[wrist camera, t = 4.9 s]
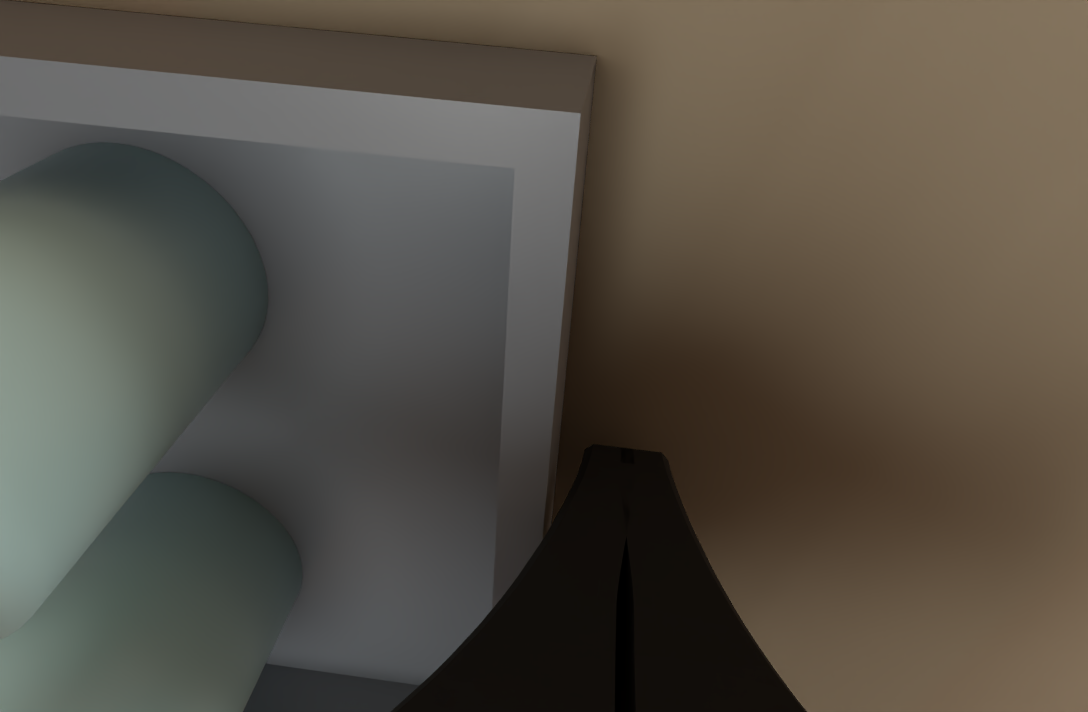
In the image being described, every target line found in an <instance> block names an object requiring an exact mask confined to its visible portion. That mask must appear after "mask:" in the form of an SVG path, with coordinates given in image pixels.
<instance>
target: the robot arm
mask: <svg viewBox="0 0 1088 712" xmlns="http://www.w3.org/2000/svg"><path fill="white" fill-rule="evenodd" d="M391 712H807V711H806V710H805V709H804V708H803V707H802V705H801V704H800V703H799V702H798V700H797V699H796V698H795V696H794V695H793V694H792V692H791V691H790V690H789V688H788V687H787V686H786V684H785V683H784V682H783V680H782V679H781V677H780V676H779V675H778V673H777V672H776V671H775V669H774V668H773V667H772V665H771V664H770V662H769V661H768V659H767V658H766V656H765V655H764V653H763V652H762V651H761V649H760V648H759V646H758V645H757V643H756V642H755V640H754V639H753V637H752V636H751V634H750V632H749V631H748V629H747V628H746V626H745V625H744V623H743V621H742V620H741V618H740V616H739V615H738V613H737V612H736V610H735V608H734V606H733V605H732V603H731V601H730V599H729V598H728V596H727V594H726V593H725V591H724V589H723V587H722V586H721V584H720V582H719V580H718V578H717V576H716V574H715V573H714V571H713V569H712V567H711V565H710V563H709V561H708V559H707V557H706V555H705V553H704V551H703V549H702V547H701V545H700V543H699V540H698V538H697V536H696V534H695V532H694V530H693V528H692V526H691V523H690V521H689V519H688V516H687V514H686V512H685V509H684V507H683V504H682V502H681V499H680V497H679V494H678V491H677V489H676V486H675V483H674V480H673V477H672V474H671V471H670V467H669V463H668V460H667V459H666V458H665V456H664V455H663V454H662V453H661V452H652V451H644V450H636V449H628V448H620V447H612V446H603V445H595V444H593V445H591V446H590V447H588V448H586V449H585V450H584V455H583V460H582V463H581V466H580V469H579V472H578V474H577V477H576V479H575V481H574V483H573V486H572V488H571V490H570V492H569V494H568V496H567V498H566V500H565V502H564V504H563V506H562V507H561V509H560V511H559V513H558V514H557V516H556V518H555V520H554V521H553V523H552V525H551V527H550V528H549V530H548V532H547V534H546V535H545V537H544V538H543V540H542V542H541V543H540V545H539V546H538V547H537V549H536V550H535V552H534V553H533V555H532V556H531V558H530V559H529V561H528V562H527V564H526V565H525V566H524V568H523V569H522V571H521V572H520V574H519V575H518V577H517V578H516V579H515V581H514V582H513V583H512V585H511V586H510V587H509V589H508V590H507V591H506V593H505V594H504V595H503V596H502V598H501V599H500V600H499V601H498V603H497V604H496V605H495V606H494V608H493V609H492V610H491V611H490V612H489V614H488V615H487V616H486V617H485V618H484V619H483V621H482V622H481V623H480V624H479V625H478V626H477V628H476V629H475V630H474V631H473V632H472V633H471V634H470V635H469V636H468V637H467V638H466V639H465V641H464V642H463V643H462V644H461V645H460V646H459V647H458V648H457V649H456V650H455V651H454V652H453V653H452V655H451V656H450V657H449V658H448V659H447V660H446V661H445V662H444V663H443V664H442V665H441V666H440V667H439V668H438V669H437V670H436V671H435V672H434V673H433V674H432V675H431V676H430V677H428V678H427V679H426V680H425V681H424V682H423V683H422V684H421V685H420V686H418V687H417V688H416V689H415V690H414V691H413V692H412V693H411V694H410V695H408V696H407V697H406V698H405V699H404V700H403V701H402V702H401V703H400V704H398V705H397V706H396V707H395V708H394V709H393V710H392V711H391Z"/></svg>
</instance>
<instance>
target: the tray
mask: <svg viewBox="0 0 1088 712" xmlns="http://www.w3.org/2000/svg"><path fill="white" fill-rule="evenodd" d="M596 59H597V56H590V55H580V54H569V53H559V52H548V51H538V50H527V49H516V48H506V47H495V46H485V45H474V44H463V43H453V42H442V41H432V40H421V39H411V38H400V37H389V36H379V35H368V34H358V33H347V32H336V31H326V30H315V29H305V28H294V27H284V26H273V25H262V24H252V23H241V22H231V21H220V20H210V19H199V18H188V17H178V16H167V15H157V14H146V13H135V12H125V11H114V10H104V9H93V8H83V7H72V6H61V5H51V4H40V3H30V2H19V1H9V0H0V181H1V180H3V179H5V178H7V177H9V176H11V175H13V174H15V173H17V172H19V171H21V170H23V169H25V168H27V167H29V166H31V165H33V164H35V163H37V162H39V161H41V160H43V159H45V158H47V157H49V156H51V155H53V154H55V153H58V152H60V151H62V150H64V149H66V148H70V147H73V146H77V145H81V144H88V143H98V142H103V143H119V144H125V145H131V146H136V147H139V148H142V149H146V150H149V151H152V152H155V153H157V154H160V155H162V156H164V157H167V158H169V159H171V160H173V161H175V162H176V163H178V164H180V165H182V166H184V167H185V168H187V169H189V170H190V171H191V172H193V173H194V174H196V175H197V176H199V177H200V178H201V179H203V180H204V181H205V182H206V183H207V184H209V185H210V186H211V187H212V188H213V189H214V190H216V191H217V192H218V193H219V194H220V195H221V196H222V197H223V198H224V200H225V201H226V202H227V203H228V204H229V205H230V206H231V207H232V208H233V210H234V211H235V212H236V214H237V215H238V216H239V217H240V219H241V220H242V221H243V223H244V225H245V226H246V228H247V230H248V231H249V233H250V235H251V236H252V238H253V240H254V242H255V245H256V247H257V249H258V251H259V253H260V256H261V259H262V263H263V266H264V269H265V274H266V279H267V285H268V307H267V315H266V319H265V322H264V326H263V329H262V331H261V333H260V335H259V337H258V339H257V341H256V342H255V344H254V345H253V347H252V348H251V350H250V351H249V352H248V353H247V355H246V356H245V357H244V358H243V359H242V361H241V362H240V363H239V364H238V366H237V367H236V368H235V369H234V370H233V372H232V373H231V374H230V375H229V377H228V378H227V379H226V380H225V381H224V383H223V384H222V385H221V386H220V388H219V389H218V390H217V391H216V392H215V394H214V395H213V396H212V397H211V399H210V400H209V401H208V402H207V403H206V405H205V406H204V407H203V408H202V409H201V411H200V412H199V413H198V414H197V416H196V417H195V418H194V419H193V420H192V422H191V423H190V424H189V425H188V427H187V428H186V429H185V430H184V431H183V433H182V434H181V435H180V436H179V438H178V439H177V440H176V441H175V442H174V444H173V445H172V446H171V447H170V449H169V450H168V451H167V452H166V453H165V455H164V456H163V457H162V458H161V460H160V461H159V462H158V463H157V464H156V466H155V467H154V468H153V469H152V471H151V472H150V473H149V474H152V473H164V472H174V473H186V474H191V475H197V476H201V477H205V478H209V479H212V480H215V481H218V482H220V483H223V484H226V485H228V486H230V487H232V488H234V489H236V490H238V491H240V492H242V493H244V494H245V495H247V496H249V497H250V498H252V499H254V500H255V501H256V502H258V503H259V504H260V505H262V506H263V507H264V508H266V509H267V510H268V511H269V512H270V513H271V514H272V515H273V516H274V517H275V518H276V519H277V520H278V521H279V522H280V523H281V524H282V525H283V527H284V528H285V529H286V531H287V532H288V534H289V535H290V536H291V538H292V540H293V542H294V544H295V545H296V547H297V550H298V553H299V555H300V559H301V564H302V574H303V578H302V584H301V588H300V591H299V593H298V596H297V598H296V600H295V602H294V604H293V606H292V609H291V611H290V613H289V615H288V617H287V619H286V621H285V623H284V626H283V628H282V630H281V632H280V634H279V636H278V638H277V640H276V643H275V645H274V647H273V649H272V651H271V653H270V655H269V657H268V660H267V662H266V664H265V666H264V668H263V670H262V672H261V674H260V677H259V679H258V681H257V683H256V685H255V687H254V689H253V691H252V694H251V696H250V698H249V700H248V702H247V704H246V706H245V708H244V711H243V712H391V711H392V710H393V709H394V708H395V707H396V706H397V705H398V704H400V703H401V702H402V701H403V700H404V699H405V698H406V697H407V696H408V695H410V694H411V693H412V692H413V691H414V690H415V689H416V688H417V687H418V686H420V685H421V684H422V683H423V682H424V681H425V680H426V679H427V678H428V677H430V676H431V675H432V674H433V673H434V672H435V671H436V670H437V669H438V668H439V667H440V666H441V665H442V664H443V663H444V662H445V661H446V660H447V659H448V658H449V657H450V656H451V655H452V653H453V652H454V651H455V650H456V649H457V648H458V647H459V646H460V645H461V644H462V643H463V642H464V641H465V639H466V638H467V637H468V636H469V635H470V634H471V633H472V632H473V631H474V630H475V629H476V628H477V626H478V625H479V624H480V623H481V622H482V621H483V619H484V618H485V617H486V616H487V615H488V614H489V612H490V611H491V610H492V609H493V608H494V606H495V605H496V604H497V603H498V601H499V600H500V599H501V598H502V596H503V595H504V594H505V593H506V591H507V590H508V589H509V587H510V586H511V585H512V583H513V582H514V581H515V579H516V578H517V577H518V575H519V574H520V572H521V571H522V569H523V568H524V566H525V565H526V564H527V562H528V561H529V559H530V558H531V556H532V555H533V553H534V552H535V550H536V549H537V547H538V546H539V545H540V543H541V542H542V540H543V538H544V537H545V535H546V534H547V532H548V530H549V528H550V527H551V524H552V514H553V503H554V493H555V483H556V472H557V462H558V452H559V441H560V431H561V421H562V410H563V400H564V390H565V379H566V369H567V359H568V348H569V338H570V328H571V317H572V307H573V296H574V286H575V276H576V265H577V255H578V245H579V234H580V224H581V214H582V203H583V193H584V183H585V172H586V162H587V152H588V141H589V131H590V121H591V110H592V100H593V90H594V79H595V69H596Z"/></svg>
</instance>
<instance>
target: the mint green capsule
mask: <svg viewBox="0 0 1088 712" xmlns="http://www.w3.org/2000/svg"><path fill="white" fill-rule="evenodd" d="M267 307H268V285H267V279H266V274H265V269H264V266H263V263H262V259H261V256H260V253H259V251H258V249H257V247H256V245H255V242H254V240H253V238H252V236H251V235H250V233H249V231H248V230H247V228H246V226H245V225H244V223H243V221H242V220H241V219H240V217H239V216H238V215H237V214H236V212H235V211H234V210H233V208H232V207H231V206H230V205H229V204H228V203H227V202H226V201H225V200H224V198H223V197H222V196H221V195H220V194H219V193H218V192H217V191H216V190H214V189H213V188H212V187H211V186H210V185H209V184H207V183H206V182H205V181H204V180H203V179H201V178H200V177H199V176H197V175H196V174H194V173H193V172H191V171H190V170H189V169H187V168H185V167H184V166H182V165H180V164H178V163H176V162H175V161H173V160H171V159H169V158H167V157H164V156H162V155H160V154H157V153H155V152H152V151H149V150H146V149H142V148H139V147H136V146H131V145H125V144H119V143H103V142H98V143H88V144H81V145H77V146H73V147H70V148H66V149H64V150H62V151H60V152H58V153H55V154H53V155H51V156H49V157H47V158H45V159H43V160H41V161H39V162H37V163H35V164H33V165H31V166H29V167H27V168H25V169H23V170H21V171H19V172H17V173H15V174H13V175H11V176H9V177H7V178H5V179H3V180H1V181H0V639H3V638H5V637H7V636H9V635H11V634H12V633H14V632H15V631H17V630H18V629H20V628H21V627H22V626H23V625H24V624H25V623H26V622H27V621H28V620H29V619H30V618H31V617H32V616H33V615H34V613H35V612H36V611H37V610H38V609H39V607H40V606H41V605H42V604H43V602H44V601H45V600H46V599H47V598H48V596H49V595H50V594H51V593H52V591H53V590H54V589H55V588H56V587H57V585H58V584H59V583H60V582H61V581H62V579H63V578H64V577H65V576H66V574H67V573H68V572H69V571H70V570H71V568H72V567H73V566H74V565H75V563H76V562H77V561H78V560H79V559H80V557H81V556H82V555H83V554H84V552H85V551H86V550H87V549H88V548H89V546H90V545H91V544H92V543H93V541H94V540H95V539H96V538H97V537H98V535H99V534H100V533H101V532H102V530H103V529H104V528H105V527H106V526H107V524H108V523H109V522H110V521H111V519H112V518H113V517H114V516H115V515H116V513H117V512H118V511H119V510H120V508H121V507H122V506H123V505H124V504H125V502H126V501H127V500H128V499H129V497H130V496H131V495H132V494H133V493H134V491H135V490H136V489H137V488H138V486H139V485H140V484H141V483H142V482H143V480H144V479H145V478H146V477H147V475H148V474H149V473H150V472H151V471H152V469H153V468H154V467H155V466H156V464H157V463H158V462H159V461H160V460H161V458H162V457H163V456H164V455H165V453H166V452H167V451H168V450H169V449H170V447H171V446H172V445H173V444H174V442H175V441H176V440H177V439H178V438H179V436H180V435H181V434H182V433H183V431H184V430H185V429H186V428H187V427H188V425H189V424H190V423H191V422H192V420H193V419H194V418H195V417H196V416H197V414H198V413H199V412H200V411H201V409H202V408H203V407H204V406H205V405H206V403H207V402H208V401H209V400H210V399H211V397H212V396H213V395H214V394H215V392H216V391H217V390H218V389H219V388H220V386H221V385H222V384H223V383H224V381H225V380H226V379H227V378H228V377H229V375H230V374H231V373H232V372H233V370H234V369H235V368H236V367H237V366H238V364H239V363H240V362H241V361H242V359H243V358H244V357H245V356H246V355H247V353H248V352H249V351H250V350H251V348H252V347H253V345H254V344H255V342H256V341H257V339H258V337H259V335H260V333H261V331H262V329H263V326H264V322H265V319H266V315H267Z"/></svg>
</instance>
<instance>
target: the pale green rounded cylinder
mask: <svg viewBox="0 0 1088 712" xmlns="http://www.w3.org/2000/svg"><path fill="white" fill-rule="evenodd" d="M302 578H303V574H302V564H301V559H300V555H299V553H298V550H297V547H296V545H295V544H294V542H293V540H292V538H291V536H290V535H289V534H288V532H287V531H286V529H285V528H284V527H283V525H282V524H281V523H280V522H279V521H278V520H277V519H276V518H275V517H274V516H273V515H272V514H271V513H270V512H269V511H268V510H267V509H266V508H264V507H263V506H262V505H260V504H259V503H258V502H256V501H255V500H254V499H252V498H250V497H249V496H247V495H245V494H244V493H242V492H240V491H238V490H236V489H234V488H232V487H230V486H228V485H226V484H223V483H220V482H218V481H215V480H212V479H209V478H205V477H201V476H197V475H191V474H186V473H174V472H164V473H152V474H148V475H147V477H146V478H145V479H144V480H143V482H142V483H141V484H140V485H139V486H138V488H137V489H136V490H135V491H134V493H133V494H132V495H131V496H130V497H129V499H128V500H127V501H126V502H125V504H124V505H123V506H122V507H121V508H120V510H119V511H118V512H117V513H116V515H115V516H114V517H113V518H112V519H111V521H110V522H109V523H108V524H107V526H106V527H105V528H104V529H103V530H102V532H101V533H100V534H99V535H98V537H97V538H96V539H95V540H94V541H93V543H92V544H91V545H90V546H89V548H88V549H87V550H86V551H85V552H84V554H83V555H82V556H81V557H80V559H79V560H78V561H77V562H76V563H75V565H74V566H73V567H72V568H71V570H70V571H69V572H68V573H67V574H66V576H65V577H64V578H63V579H62V581H61V582H60V583H59V584H58V585H57V587H56V588H55V589H54V590H53V591H52V593H51V594H50V595H49V596H48V598H47V599H46V600H45V601H44V602H43V604H42V605H41V606H40V607H39V609H38V610H37V611H36V612H35V613H34V615H33V616H32V617H31V618H30V619H29V620H28V621H27V622H26V623H25V624H24V625H23V626H22V627H21V628H20V629H18V630H17V631H15V632H14V633H12V634H11V635H9V636H7V637H5V638H3V639H0V712H243V711H244V708H245V706H246V704H247V702H248V700H249V698H250V696H251V694H252V691H253V689H254V687H255V685H256V683H257V681H258V679H259V677H260V674H261V672H262V670H263V668H264V666H265V664H266V662H267V660H268V657H269V655H270V653H271V651H272V649H273V647H274V645H275V643H276V640H277V638H278V636H279V634H280V632H281V630H282V628H283V626H284V623H285V621H286V619H287V617H288V615H289V613H290V611H291V609H292V606H293V604H294V602H295V600H296V598H297V596H298V593H299V591H300V588H301V584H302Z"/></svg>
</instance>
